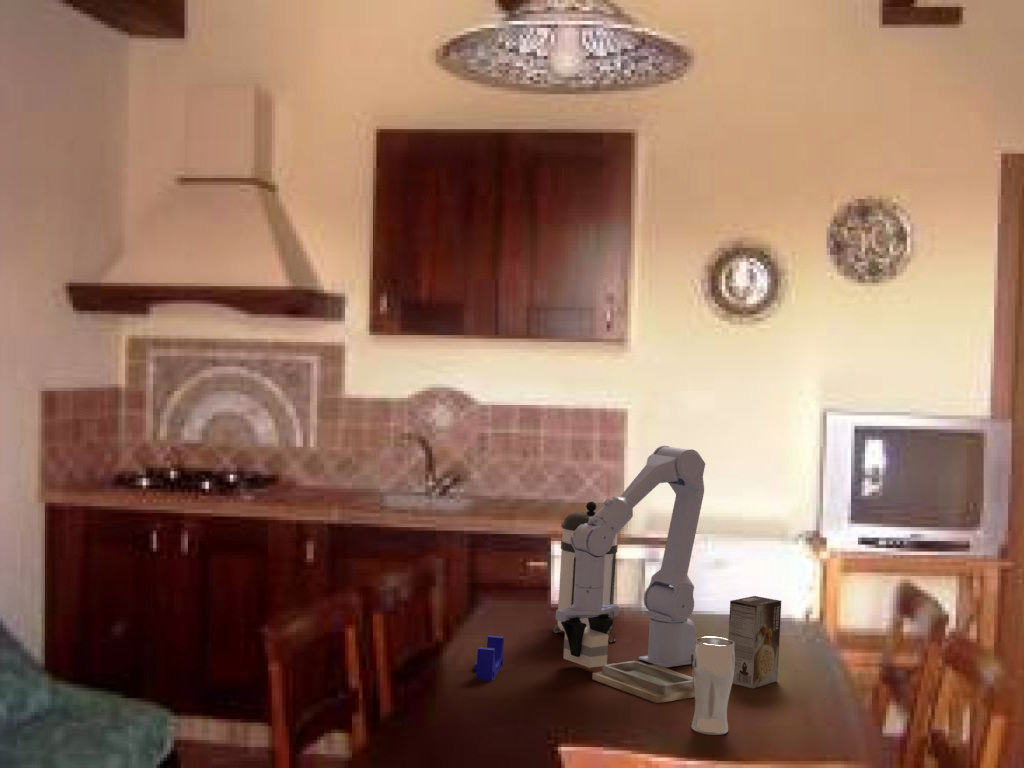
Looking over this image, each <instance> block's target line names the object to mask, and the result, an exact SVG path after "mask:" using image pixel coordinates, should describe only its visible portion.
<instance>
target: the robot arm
mask: <svg viewBox="0 0 1024 768" xmlns="http://www.w3.org/2000/svg"><path fill="white" fill-rule="evenodd" d="M646 459H647V460H646V465H644V466H643V468H642V469H641V470H640V472H639V473H638V474H637V475H636V477H634V479H633V480H632V481H631V482H630V484H629V485H628V486H626V487H627V488H626V489H625V490H624V491H623V492H622V493H621V494H620V496H612V497H610V498H606V499H605V500H604V501H603V506H602V507H601V508H600V509H598V511H597V512H595V513H596V514H595V515H594V516H593V517H591V518H590V519H589V521H588V524H587V523H585V524H581V525H580V526H578V527H577V528H576V530H575V531H574V534H573V537H571V538H570V539H571V545H572V547H573V548H574V550H575V557H576V565H575V585H574V604H572V607H568V608H564V609H560V610H558V609H556V610H555V621H561V624H562V626H563V628H564V630H565V632H566V635H567V638H568V642H569V647H570V652H571V655H573V656H575V657H580V655H581V647H582V638H583V634H584V631H585V628H586V624H585V623H582V622H581V621H580V619H582V618H588V621H589V626H590V629H592V630H595V631H598V632H601V633H604V634H607V635H608V633H609V632H608V630H609V629H610V627H611V626H612V627H613V624H614V618H613V617H612V618H609V615H613V616H615V617H616V616H619V611H620V610H619V609H620V608H619V605H616V604H614V603H613V604H608V605H603V586H604V568H605V554H606V553H607V552H609V551H610V549H611V547H612V543H613V539H614V538H615V535H616V534H617V535H618V533H619V532H620V531H621V530H622V529H623V528H624V527H625V526H626V525H627V523H629V522H630V521H631V519H632V518H633V516H634V514H633V513H634V512H633V511H634V510H633V509H634V508H635V507H636V506H637V505H638V504H639V503H640V502H641V501H642V500H643V499H644V498H645V497H646V496H647V495H648V494H650V493H651V492H652V491H653V490H654V489H655V488H656V487H657V486H659V484H664V483H668V485H669V486H670V487H671V489H672V491H673V492H674V493H675V498H674V503H673V506H672V507H673V508H672V512H671V516H670V517H671V518H670V522H669V528H668V533H667V537H666V542H665V548H664V552H663V557H662V562H661V567H660V569H659V570H658V571H656V572H655V573H653V574H652V576H651V578H650V583H649V585H648V586H647V588H646V589H645V592H644V595H643V604H644V607H645V609H646V610H647V611H648V616H649V633H648V646H647V647H648V648H647V649H648V650H647V651H648V652H647V655H642V656H638V660H641V661H644V662H646V663H649V664H651V665H653V664H654V665H657V666H660V667H663V668H666V669H667V668H673V667H679V666H687V665H692V664H691V654H694V647H695V639H696V638H697V628H696V626H695V623H694V622H693V620H691V619H690V617H691V615H692V614H693V612H694V608H695V600H694V599H695V598H694V590H695V586H694V583H693V582H692V581H691V579H690V578H689V575H688V573H689V569H690V563H691V558H692V555H693V554H692V553H693V548H694V543H695V538H696V534H697V528H698V524H699V519H700V514H701V509H702V505H703V500H704V495H705V494H704V493H705V483H704V473H705V468H706V462H705V461H704V459H703V458H702V456H701V455H700V453H699V452H698V451H696V450H695V449H693V448H692V449H689V448H687V449H686V448H680V447H675V446H674V447H673V446H668V445H660V446H658V447H657V448H655V450H654V451H653V453H651V454H650V455H649V456H648V457H647V458H646ZM565 632H564V633H565ZM607 632H608V633H607Z"/></svg>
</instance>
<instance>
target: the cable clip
mask: <svg viewBox="0 0 1024 768" xmlns="http://www.w3.org/2000/svg"><path fill="white" fill-rule="evenodd" d="M486 642H487V643H486V647H483V646H479V647H478V648H477V656H476V659H475V663H474V668H473V669H474V670H473V671H474V672H475V674H476V675H475V680H479V681H487V682H492V681H493V680H494V679H495V677H496V676H497V674H498V673H499V672H500V670H501V669H502V668H503V666H504V665H503V663H504V647H505V636H502V635H491V634H490V635H488V636H487V640H486ZM501 667H502V668H501Z"/></svg>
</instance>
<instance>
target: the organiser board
mask: <svg viewBox="0 0 1024 768" xmlns="http://www.w3.org/2000/svg"><path fill="white" fill-rule="evenodd" d="M690 665H693V654H691V664H690ZM591 679H592V680H593V681H595V682H599V683H601V684H605V685H607V686H610V687H612V688H615V689H617V690H621V691H623V692H625V693H629V694H632V695H634V696H637V697H640V698H641V699H645V700H648V701H650V702H653V703H655V704H660V703H666V702H667V703H668V702H672V701H677V700H684V699H691V698H695V694H694V686H693V676H689V675H687V674H684V673H681V672H678V671H674V670H672V669H669V668H667V667H666V668H665V667H661V666H658V665H655V664H647V663H644V662H641V661H637V660H631V661H622V662H616V663H607V665H602V666H601V671H599V672H598V671H597V672H596V671H595V672H592V678H591Z"/></svg>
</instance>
